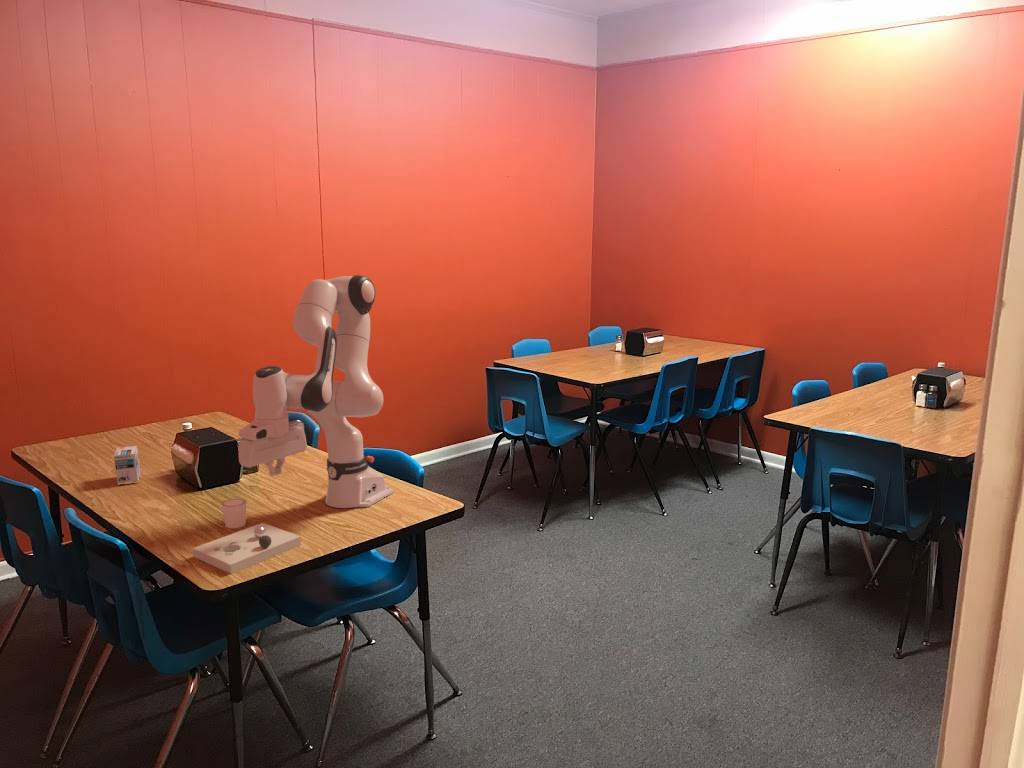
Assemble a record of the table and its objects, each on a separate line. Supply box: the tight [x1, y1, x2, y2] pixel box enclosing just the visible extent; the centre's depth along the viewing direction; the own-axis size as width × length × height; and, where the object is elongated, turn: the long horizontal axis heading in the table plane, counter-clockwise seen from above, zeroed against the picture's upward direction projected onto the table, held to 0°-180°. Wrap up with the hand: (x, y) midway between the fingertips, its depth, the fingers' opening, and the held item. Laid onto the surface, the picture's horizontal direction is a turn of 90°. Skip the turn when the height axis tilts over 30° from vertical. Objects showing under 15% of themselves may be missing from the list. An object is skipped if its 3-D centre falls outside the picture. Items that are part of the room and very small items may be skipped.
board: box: [192, 522, 302, 575], centre depth 211 cm, size 22×17×2 cm
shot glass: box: [221, 498, 247, 529], centre depth 229 cm, size 7×7×7 cm
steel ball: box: [254, 526, 266, 538], centre depth 213 cm, size 3×3×3 cm
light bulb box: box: [113, 445, 141, 483], centre depth 268 cm, size 11×7×11 cm, turn 22°
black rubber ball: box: [259, 535, 271, 547], centre depth 207 cm, size 3×3×3 cm
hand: (275, 474), depth 215 cm, fingers closed
